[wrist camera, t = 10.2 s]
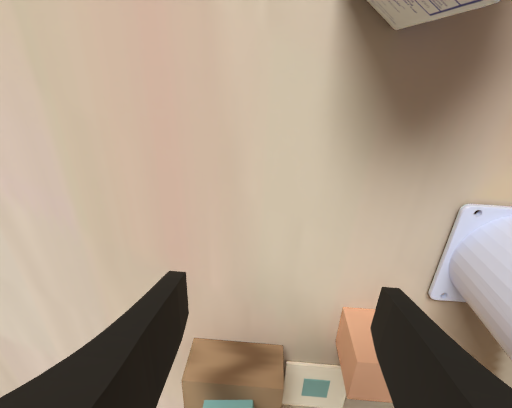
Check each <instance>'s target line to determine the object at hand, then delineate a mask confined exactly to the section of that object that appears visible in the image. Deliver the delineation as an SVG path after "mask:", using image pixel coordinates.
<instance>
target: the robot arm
mask: <svg viewBox="0 0 512 408" xmlns="http://www.w3.org/2000/svg"><path fill="white" fill-rule="evenodd" d="M477 210H479V211H478V212H477V213H476V214H474V212H475V211H477ZM443 293H444V294H443ZM428 294H429V296H430V297H431V298H432V299H434V300H444V301H457V302H467V303H468V304H469V306H470V307H471V308H472V310H473V311H474V312H475V314H476V315H477V316H478V317H479V319H480V320H481V321H482V323H483V324H484V325H485V327H486V328H487V329H488V330H489V332H490V333H491V334H492V336H493V337H494V338H495V340H496V341H497V342H498V343H499V345H500V346H501V347H502V349H503V350H504V351H505V353H506V354H507V355H508V356H509V358H510V359H511V360H512V206H497V205H481V204H466V205H463V206H462V207H461V208H460V210H459V212H458V215H457V218H456V220H455V223H454V226H453V228H452V231H451V233H450V236H449V239H448V241H447V244H446V247H445V249H444V252H443V255H442V257H441V260H440V263H439V265H438V268H437V271H436V273H435V276H434V278H433V281H432V284H431V286H430V289H429V292H428ZM441 294H443V295H441ZM188 314H189V311H188V297H187V283H186V272H176V271H169V272H168V273H167V274H166V275H165V276H163V277H162V278H161V279H160V280H159V281H158V282H157V283H156V284H155V285H154V286H153V287H152V288H151V289H150V290H149V291H148V292H147V293H146V294H145V295H144V296H143V297H142V298H141V299H140V300H139V301H138V302H136V303H135V304H134V305H133V306H132V307H131V308H130V309H129V310H128V311H127V312H125V313H124V314H123V315H122V316H121V317H120V318H118V319H117V320H116V321H115V322H114V323H112V324H111V325H110V326H109V327H108V328H106V329H105V330H104V331H103V332H101V333H100V334H99V335H98V336H96V337H95V338H94V339H92V340H91V341H90V342H88V343H87V344H86V345H84V346H83V347H82V348H80V349H79V350H77V351H76V352H75V353H73V354H72V355H70V356H69V357H67V358H66V359H64V360H62V361H61V362H59V363H58V364H56V365H55V366H53V367H52V368H50V369H48V370H47V371H45V372H44V373H42V374H41V375H39V376H37V377H36V378H34V379H32V380H31V381H29V382H27V383H26V384H24V385H22V386H20V387H19V388H17V389H15V390H13V391H12V392H10V393H8V394H6V395H4V396H3V397H1V398H0V408H156V406H157V404H158V401H159V398H160V395H161V393H162V390H163V388H164V385H165V383H166V380H167V377H168V375H169V372H170V370H171V367H172V364H173V362H174V359H175V357H176V354H177V351H178V349H179V346H180V343H181V341H182V337H183V334H184V330H185V326H186V322H187V318H188ZM370 329H371V334H372V339H373V344H374V348H375V352H376V356H377V359H378V362H379V365H380V368H381V371H382V374H383V377H384V380H385V382H386V385H387V388H388V391H389V394H390V396H391V399H392V402H393V405H394V408H512V388H511V387H509V386H508V385H507V384H505V383H504V382H503V381H502V380H500V379H499V378H498V377H496V376H495V375H494V374H492V373H491V372H490V371H489V370H488V369H486V368H485V367H484V366H483V365H481V364H480V363H479V362H478V361H477V360H476V359H474V358H473V357H472V356H471V355H470V354H469V353H467V352H466V351H465V350H464V349H463V348H462V347H461V346H459V345H458V344H457V343H456V342H455V341H454V340H453V339H452V338H451V337H449V336H448V335H447V334H446V333H445V332H444V331H443V330H442V329H441V328H440V327H439V326H438V325H437V324H436V323H435V322H434V321H433V320H431V319H430V318H429V317H428V316H427V315H426V314H425V313H424V312H423V311H422V310H421V309H420V308H419V307H418V306H417V305H416V304H415V303H414V302H413V301H412V300H411V299H410V298H409V297H408V296H407V295H406V294H405V293H404V292H403V291H402V290H400V289H399V288H389V287H382V289H381V292H380V296H379V299H378V303H377V306H376V310H375V313H374V317H373V320H372V323H371V327H370Z"/></svg>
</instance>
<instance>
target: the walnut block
mask: <svg viewBox="0 0 512 408" xmlns="http://www.w3.org/2000/svg"><path fill="white" fill-rule="evenodd" d="M182 390H183V400H184V408H203V404H204V400H253V403H254V408H281V407H282V399H283V392H284V375H283V345H271V344H259V343H247V342H235V341H223V340H211V339H199V338H194V340H193V343H192V347H191V350H190V354H189V357H188V360H187V364H186V367H185V371H184V374H183V377H182Z"/></svg>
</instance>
